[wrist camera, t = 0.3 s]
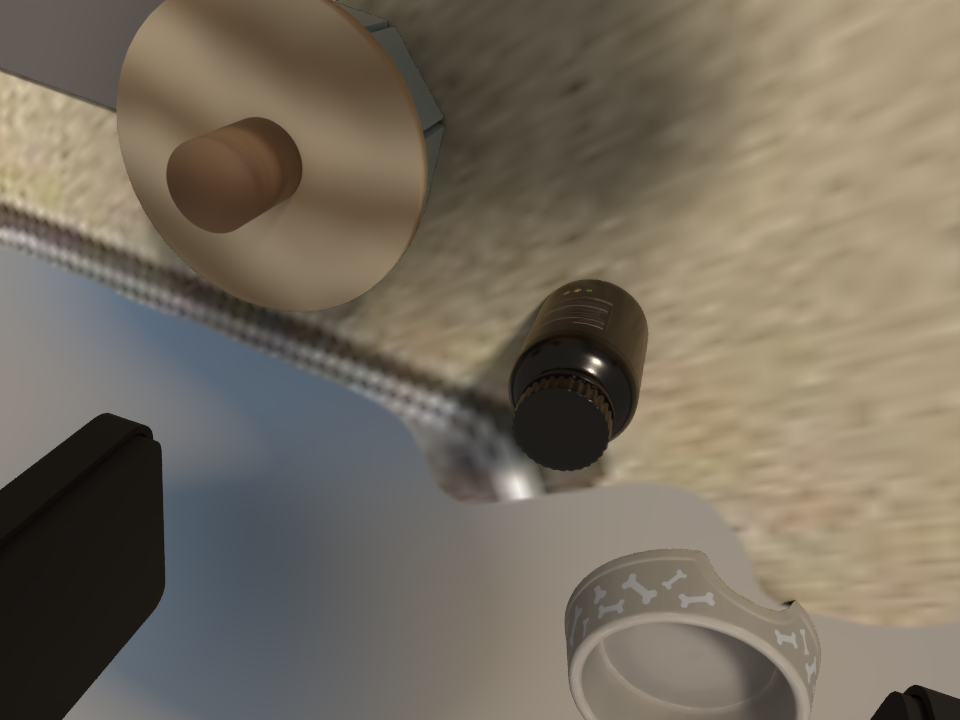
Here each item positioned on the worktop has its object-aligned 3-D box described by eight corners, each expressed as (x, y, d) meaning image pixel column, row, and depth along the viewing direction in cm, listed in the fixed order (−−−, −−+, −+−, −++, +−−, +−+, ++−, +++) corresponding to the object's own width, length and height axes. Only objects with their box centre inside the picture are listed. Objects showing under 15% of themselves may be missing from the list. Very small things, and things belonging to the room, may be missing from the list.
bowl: (225, -35, 43) (159, -31, 38) (463, 45, 42) (428, 61, 36) (207, 201, 50) (150, 231, 45) (409, 276, 49) (373, 315, 44)
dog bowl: (734, 756, 62) (736, 821, 57) (530, 649, 62) (515, 705, 58) (871, 633, 53) (885, 698, 48) (630, 510, 53) (622, 563, 49)
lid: (134, -71, 37) (38, -73, 32) (463, 39, 36) (419, 57, 30) (128, 244, 46) (52, 284, 41) (391, 344, 45) (347, 399, 39)
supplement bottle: (658, 370, 48) (642, 488, 37) (550, 381, 50) (508, 494, 40) (640, 266, 45) (617, 363, 35) (527, 282, 47) (474, 377, 37)
